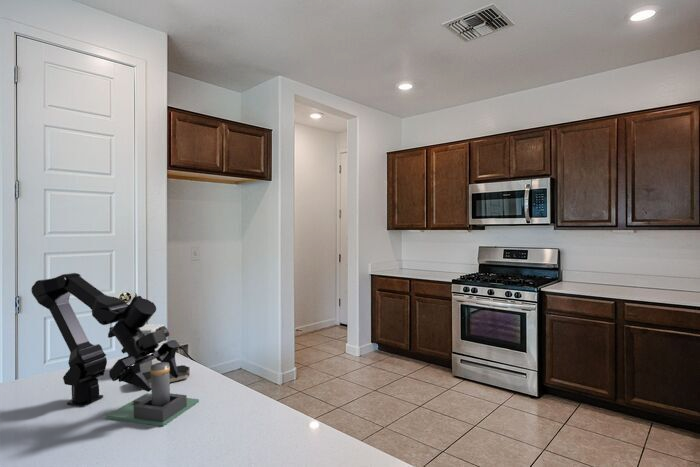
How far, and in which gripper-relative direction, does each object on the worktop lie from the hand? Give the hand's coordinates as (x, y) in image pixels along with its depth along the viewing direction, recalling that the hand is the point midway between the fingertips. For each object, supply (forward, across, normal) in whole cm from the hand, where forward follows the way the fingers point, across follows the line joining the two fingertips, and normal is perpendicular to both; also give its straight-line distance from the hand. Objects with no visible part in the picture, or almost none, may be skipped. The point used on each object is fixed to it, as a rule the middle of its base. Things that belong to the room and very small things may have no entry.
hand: (164, 383), depth 105 cm
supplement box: (-18, +25, +30) cm, 43 cm away
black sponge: (-7, +18, +20) cm, 28 cm away
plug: (+4, 0, +6) cm, 8 cm away
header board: (+2, +2, +10) cm, 10 cm away
